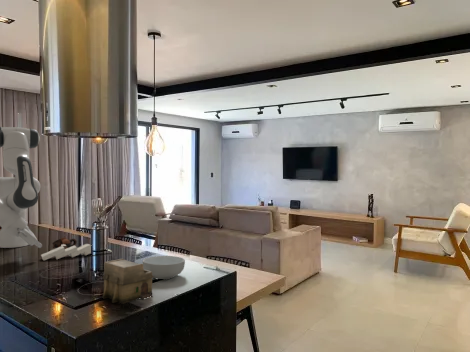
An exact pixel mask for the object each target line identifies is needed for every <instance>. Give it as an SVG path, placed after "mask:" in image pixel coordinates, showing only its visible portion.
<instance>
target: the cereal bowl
mask: <svg viewBox="0 0 470 352" xmlns="http://www.w3.org/2000/svg"><path fill="white" fill-rule="evenodd" d="M185 261H186V259H185V258H183V257H180V256H176V255H175V256H173V255H158V256H150V257H147V258H144V259H143V260H142V264H143V269H144V270H148V271H151V272H152V275H153V277H154V278H158V279H166V280H170V278H171V279H173V278H174V277H176V276H178V275H180V274H181V273H182V272H183V271H184V269H185V265H186V264H185V263H186V262H185ZM154 278H153V279H154ZM158 279H157V280H158Z"/></svg>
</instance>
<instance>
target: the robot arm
mask: <svg viewBox="0 0 470 352" xmlns="http://www.w3.org/2000/svg"><path fill="white" fill-rule="evenodd" d="M40 142H41V137H40V133H39V131H38V130H37V129H36V128H35V129H34V128H26V127H20V126H19V127H18V126H16V127H15V126H14V127H13V126H7V127H6V126H4V127H3V126H0V148H2V159H3V163H2V164H3V169H4V170H5V171H6V172H8V173H10V174H13V175H14V177H12V176H0V227H1V229H0V248H4V249H6V248H9V249H10V248H12V249H13V248H20V247H26V246H31V247H32V246H33V245H35V246H36V247H37V248H39V249H41V248H42V247H43V244H42V243H41V242H40V241H38V239H37V237H36V235H35V234H34V232H33V231H32V230H31V229H30V227H29V226H28V223H29V222H28V221H27V220H26V210H28V209H29V208H31V207H33V206H35V205H36V204H37V203H38V201H39V192H40V191H41V189H42V188H41V186H42V185H41V182H40V181H39V180H38V179H37V178H36V177H34V175H33V167H32V162H31V160H30V159H31V158H30V149H35V148H37V147H38V146H39V144H40Z"/></svg>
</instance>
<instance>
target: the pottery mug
mask: <svg viewBox="0 0 470 352" xmlns="http://www.w3.org/2000/svg"><path fill="white" fill-rule="evenodd" d="M77 242H78V241H77V239H76V238H70V239H67V237H66V236H64V237H61V238H59V239H57V240H55V241H53V242H52V249H56V248H58V247H61V246H62V245H65V247H64V248H65V249H67V248H69V247H72V246H74V245H75V246H76V245H77V244H78V243H77Z"/></svg>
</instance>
